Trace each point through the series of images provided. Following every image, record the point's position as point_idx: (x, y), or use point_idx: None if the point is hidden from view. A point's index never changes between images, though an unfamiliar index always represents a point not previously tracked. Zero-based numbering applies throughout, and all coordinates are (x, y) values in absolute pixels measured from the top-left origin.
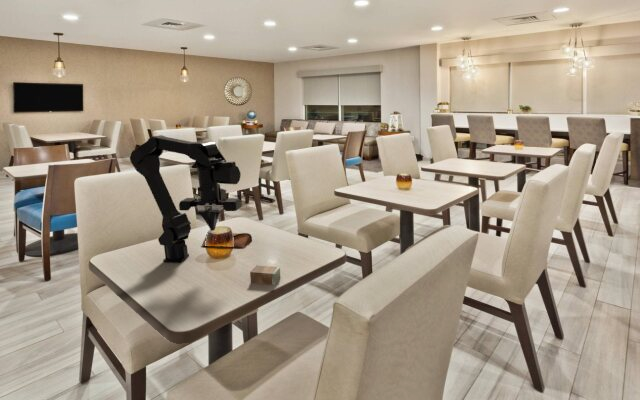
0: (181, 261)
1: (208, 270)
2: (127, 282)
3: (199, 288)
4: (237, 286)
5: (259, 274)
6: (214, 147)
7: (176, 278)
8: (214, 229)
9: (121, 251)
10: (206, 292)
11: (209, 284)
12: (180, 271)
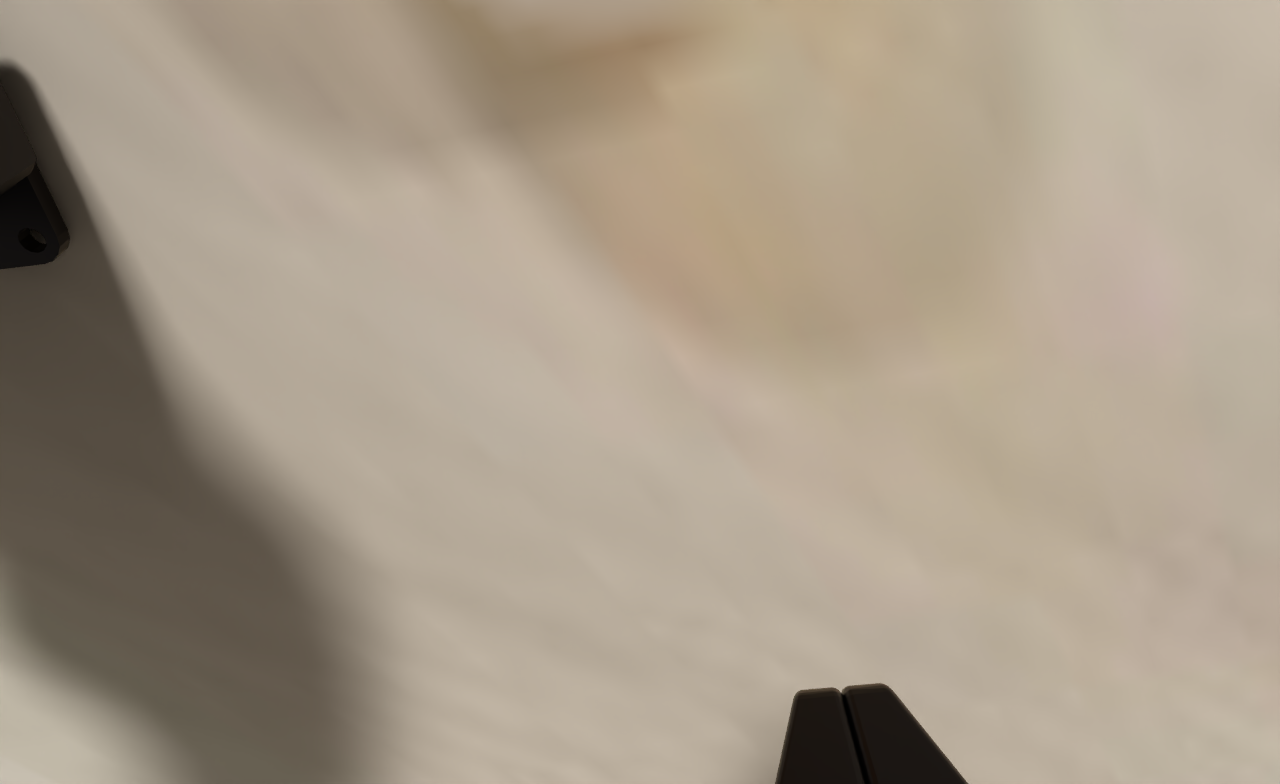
0: (64, 228)
1: (699, 390)
2: (20, 770)
3: None
4: (1217, 646)
5: None
6: None
7: (440, 630)
8: (893, 716)
9: None
10: None
11: (892, 664)
12: (337, 485)
